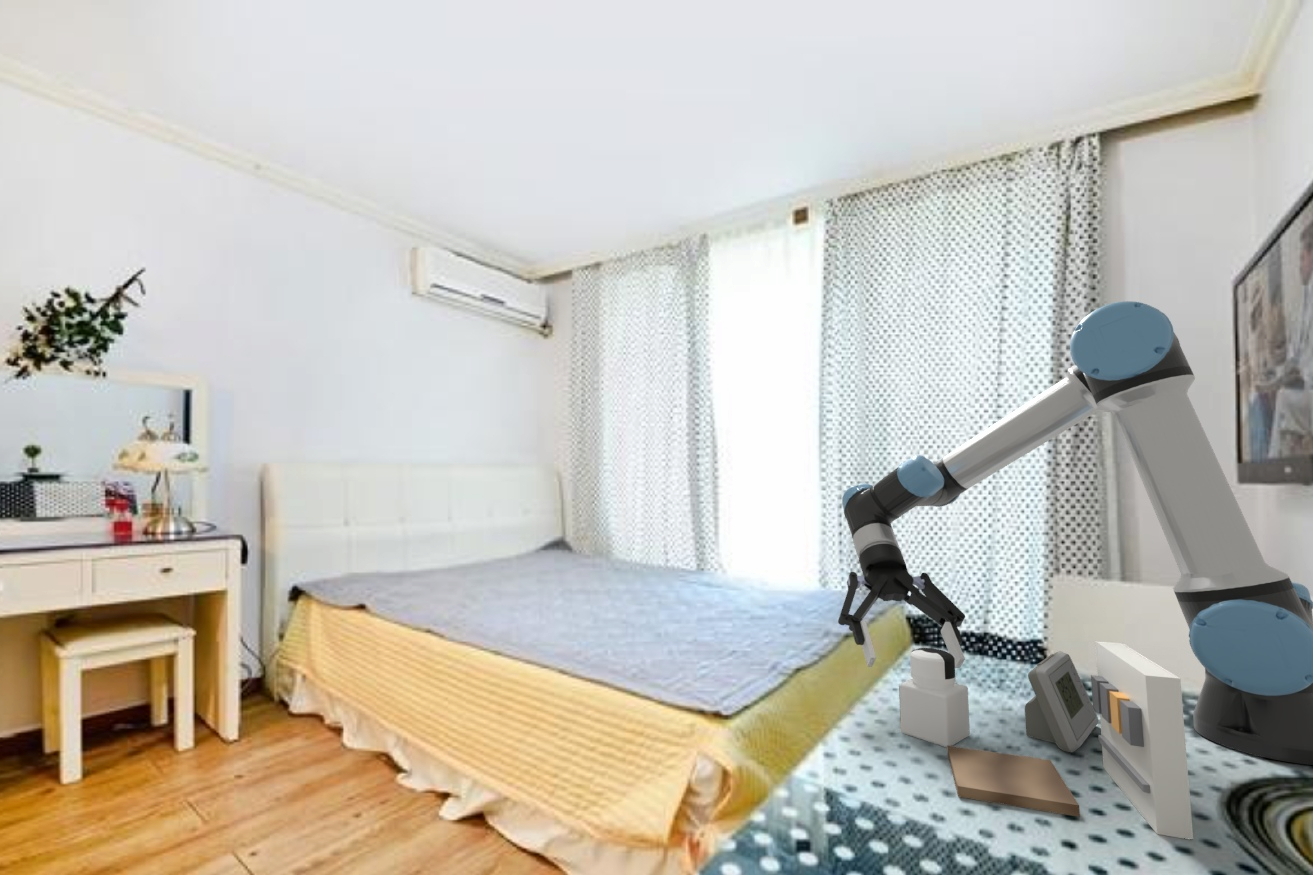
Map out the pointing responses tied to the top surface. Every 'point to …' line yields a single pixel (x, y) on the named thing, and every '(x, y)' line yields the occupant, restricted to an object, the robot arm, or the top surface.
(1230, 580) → the robot arm
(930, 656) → the medicine bottle
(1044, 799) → the walnut board
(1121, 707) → the breaker panel
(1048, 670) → the digital clock
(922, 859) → the top surface
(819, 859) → the top surface
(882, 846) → the top surface
